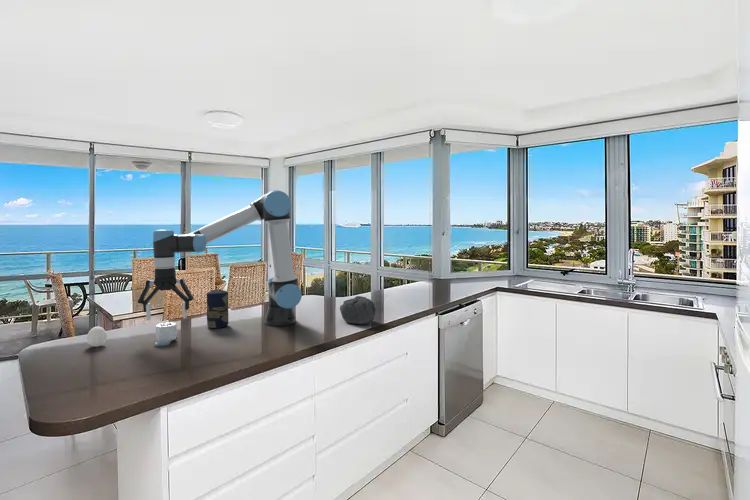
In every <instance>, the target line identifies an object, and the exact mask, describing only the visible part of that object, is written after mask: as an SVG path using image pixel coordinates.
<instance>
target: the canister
mask: <svg viewBox="0 0 750 500" xmlns="http://www.w3.org/2000/svg"><path fill="white" fill-rule="evenodd" d="M206 324H207V327H208V328H210V329H211V328H212V329H221V328H225V327H227V326H228V325H229V292H228V290H222V289H219V288H218V289H217V288H216V289H213V290H211V291H208V292H206Z"/></svg>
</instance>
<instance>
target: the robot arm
mask: <svg viewBox="0 0 750 500" xmlns="http://www.w3.org/2000/svg"><path fill="white" fill-rule="evenodd" d="M289 196H290V195H288V194H287V193H286V192H284V191H281V190H277V189H276V190H270V191H268V192H266V193H265V194H263V195H262V196H260V197H259V198H258V199H256V200H254V201H252V202H250V204H249V205H248V206H246V207H244V208H242V209H240V210H238V211H235V212H233V213H231V214H229V215H226V216H224V217H222V218H220V219H217V220H216V221H213V222H211V223H209V224H206V225H204V226H203V227H201V228H199V229H196V230H194V231H192V232H189V233H186V234H175V232H174V230H173V229H157V230H153V232H152V248H153V250H152V251H153V267H154V270H153V271H154V279H153V280H151V279H147V280H146V281H145V286H144V288H143V290H142V292H141V294H140V296H139V298H138V300H137V303H138V304H142V307H143V312H144V313H145V314H146V315H145V316H146V321H147V322H148V321H150V320H151V319H152V315H151V314H152V313H151V309H152V308H151V303H149V302H150V301H151V300H152V298H153V297H155V295H156V294H157V293H158V292H159V291H161V292H162V291H163V292H164V291H173V292H174V293H175V294H176V295H177V296H178V297H179V298H180V299H181V300H182V301H183V302H182V315H183V319H186V318H187V317H188V313H187V312H188V310H189V309H190V302H191V301H192V302H193V300H194V298H195V297H194V296H193V294H192V293H191V291H190V289H189V287H188V285H187V284H186V282H185V281H186V279H185V278H183V277H182V278H179V279H177V277H176V276H177V275H176V268H175V266H176V255H175V254H176V253H204V252H206V251H207V244H210V243H212V242H213V241H216V240H218V239H220V238H223V237H225V236H226V235H228V234H229V235H230V234H231V233H232V232H233V233H234V232H235V231H237V230H239V229H241V228H243V227H246V226H248V225H249V224H252V223H254V222H256V221H259V222H261V221H263V220H264V223H266V224H267V225H268V231H269V239H270V246H271V247H270V248H271V255H272V263H273V264H272V265H273V273H274V276H273V277H269V279H268V283H267V286H268V307H267V312H266V314H265V317H264V324H265V325H267V326H272V327H273V326H274V327H284V326H290V325H293V324H296V322H297V317H296V314H295V311H294V308H295V307H296V306H298V305H299V304H300V302H301V300H302V290H301V288H300V287H299V278H298V276H297V275H296V274H295V272H294V267H293V266H294V265H293V258H292V249H291V241H290V232H289V231H290V230H289V222H290V221H291V220H292V219H291V212H290V211H291V208H292V202H291V198H290V197H289ZM177 283H178V285H180V287H181V288H182V290H183V292H184V293H183V292H182V291H181V290H180V288H178V286H177V285H176V284H177ZM153 284H154V286H155V288H154V289H153V290H152V291H151V292H150V294H149V295H148V296H147V293H148V292H149V290H150V288H151V286H153ZM146 296H147V297H146ZM145 298H146V299H145Z"/></svg>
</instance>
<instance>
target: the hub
mask: <svg viewBox="0 0 750 500" xmlns="http://www.w3.org/2000/svg"><path fill="white" fill-rule="evenodd" d="M162 324H170V325H169V326H162ZM177 331H178V330H177V323H176V322H173V321H172V322H171V321H170V322H161V323H157V324H156V325H155V341H156V342H157V341H160V342H162V341H170V340H173V341H174V340H176V339H177V337H178V336H177V335H178V334H177V333H178V332H177Z"/></svg>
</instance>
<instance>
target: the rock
mask: <svg viewBox="0 0 750 500" xmlns="http://www.w3.org/2000/svg"><path fill="white" fill-rule="evenodd" d="M342 303H343V304H341V305H340V307H339V310H340V315H341V317H342V319H343V320H344V321H345V322H347V323H348V324H355V325H356V324H357V325H368V324H370V323H372V322H373V321H374V320H375V317H376V314H377V313H376V306H375V302H373V301H372V300H371V299H370V298H367V297H366V296H359V295H356V296H354V297H353V298H350V299H346V300H344V301H343V302H342Z"/></svg>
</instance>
